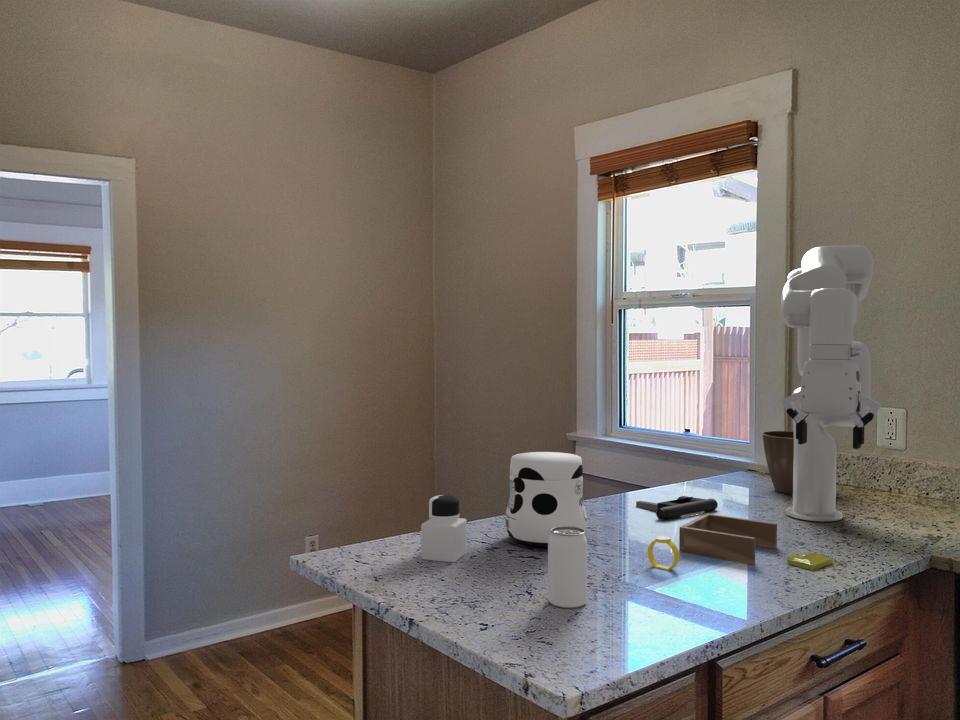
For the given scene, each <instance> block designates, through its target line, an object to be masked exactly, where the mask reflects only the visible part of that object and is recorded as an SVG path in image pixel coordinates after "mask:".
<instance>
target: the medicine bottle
mask: <svg viewBox="0 0 960 720" xmlns="http://www.w3.org/2000/svg"><path fill="white" fill-rule="evenodd" d="M467 520H468V519H466V518H461V517H460V499H459V498H458V497H456V496H454V495H449V494H439V495H434V496H433V497H431V498H430V499H429V501H428V520H426V521H425V522H423V523H421V525H420V526H421V527H420V530H421V531H420V532H421V534H420V535H421V536H420V539H421V541H420V547H421V549H420V550H421V551H420V552H421V553H420V554H421V555H420V556H421V557H420V558H421V560H423V561H434V562H444V563H452V564H453V563H456V562H457V561H458V560H459V559H461V558H462V557H464V556H465V555H466V554H467V552H468V549H467V548H468V547H467V546H468V545H467V544H468V540H467V539H468V537H467V532H468V531H467V530H468V529H467V528H468V521H467Z"/></svg>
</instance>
